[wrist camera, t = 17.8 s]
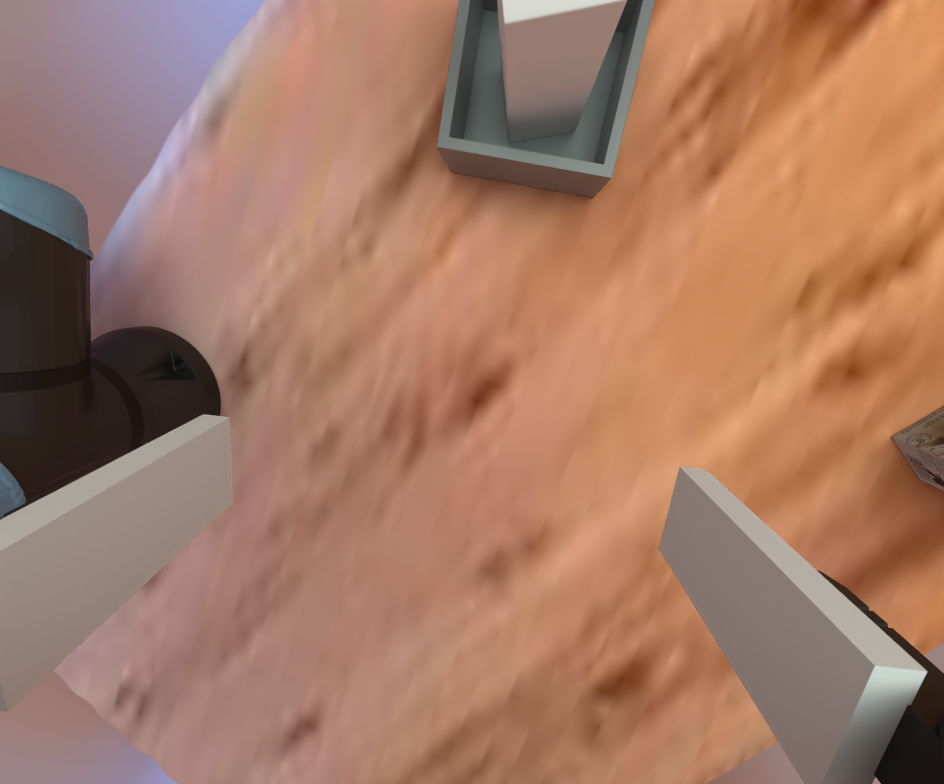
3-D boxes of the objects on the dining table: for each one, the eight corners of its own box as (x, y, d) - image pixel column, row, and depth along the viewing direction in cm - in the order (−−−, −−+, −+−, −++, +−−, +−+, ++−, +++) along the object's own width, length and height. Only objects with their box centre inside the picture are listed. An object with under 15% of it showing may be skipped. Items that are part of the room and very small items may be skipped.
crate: (451, 172, 42) (437, 146, 34) (477, 4, 38) (468, -67, 31) (593, 198, 41) (611, 177, 33) (632, 30, 38) (663, -36, 30)
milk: (575, 132, 39) (651, -46, 18) (507, 143, 40) (502, -15, 19) (569, 54, 38) (645, -240, 16) (499, 67, 38) (485, -198, 17)
